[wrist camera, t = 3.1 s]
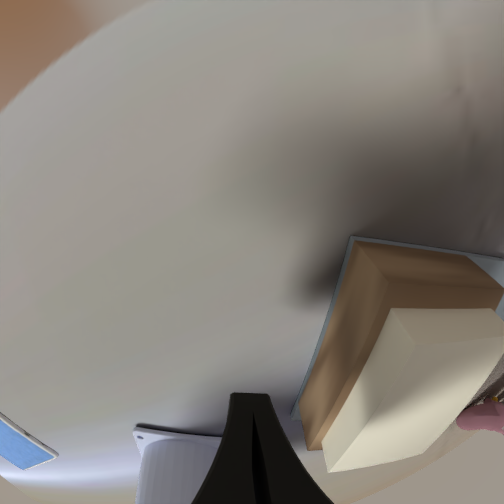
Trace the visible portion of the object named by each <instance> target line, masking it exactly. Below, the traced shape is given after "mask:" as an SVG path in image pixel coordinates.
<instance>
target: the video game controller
mask: <svg viewBox="0 0 504 504" xmlns="http://www.w3.org/2000/svg"><path fill="white" fill-rule="evenodd" d="M456 423H457V425H458V426H459V427H460V428H461V429H464V430H477V429H487V430H490V431H497V432H500V433H502V434H503V435H504V403H503V402H499V401H498V398H497V397H493V398H492V399H490V398H486V399H485V401H484V403H483V404H479V405H475V406H472V407H469V408H467V409H465V410H463V411H462V412H461V413H460V414H459V415H458V416H457V420H456Z"/></svg>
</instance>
